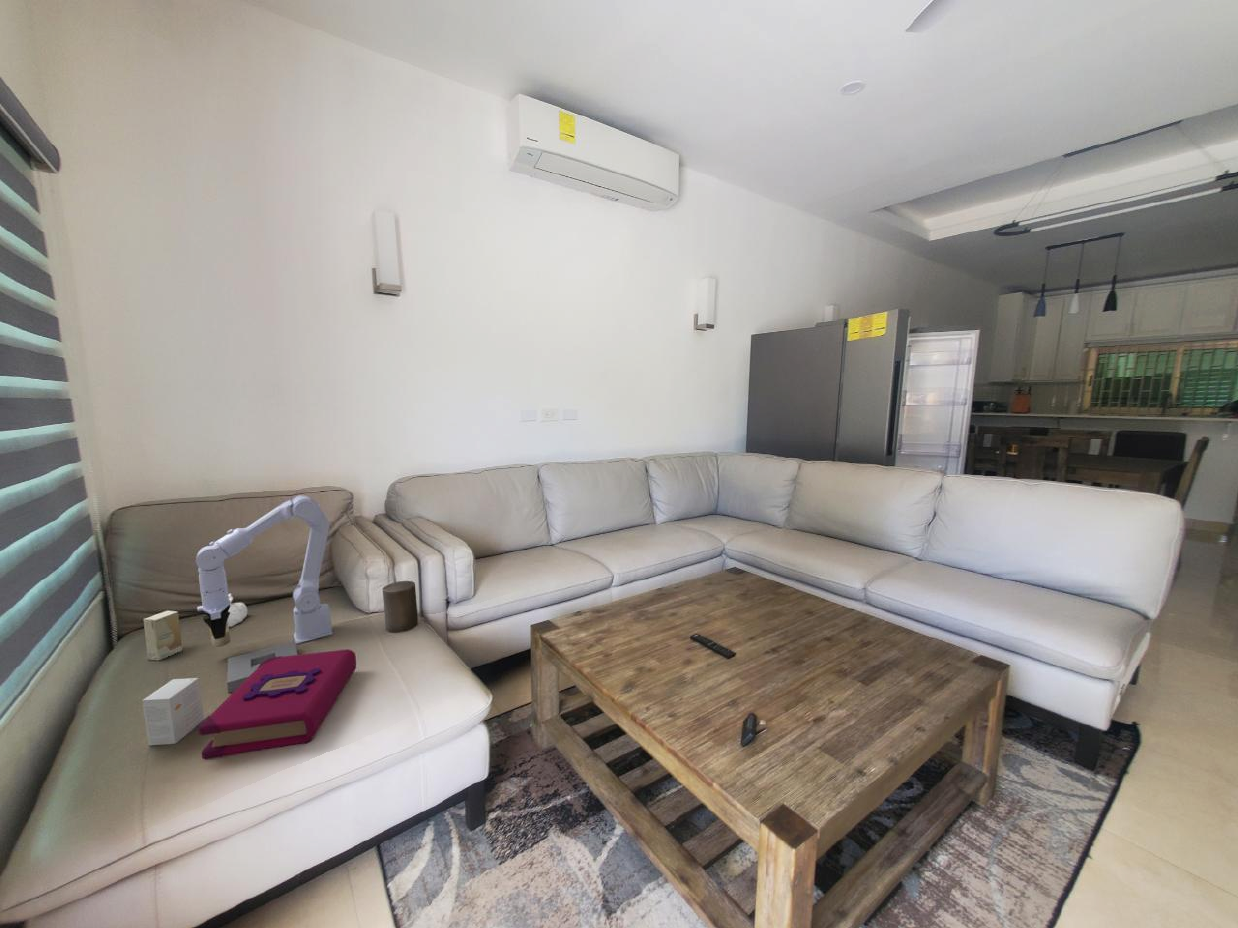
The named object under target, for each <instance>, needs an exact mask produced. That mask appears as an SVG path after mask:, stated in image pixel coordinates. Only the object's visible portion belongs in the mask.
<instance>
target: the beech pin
mask: <svg viewBox="0 0 1238 928" xmlns="http://www.w3.org/2000/svg"><path fill="white" fill-rule="evenodd" d="M209 633H210V641H211V642H210V643H211V646H212V648H221V647H223V646H226V645H229V644H230V643H231V636H230V627H229V626H228V619H227V623H226V632H225V637H223V638H219V639H215V638H214V636H213V634H212V632H211V629H210V628H209Z"/></svg>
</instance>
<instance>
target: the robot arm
mask: <svg viewBox="0 0 1238 928" xmlns="http://www.w3.org/2000/svg"><path fill="white" fill-rule="evenodd" d="M293 516H294V517H295V518H296V519H298V520H301V521H302V522H305V524H307V526H309V527H310V529H309V535H308V541H307V546H306V549H305V555H304V560H303V566H302V571H301V576H300V578H299V580H298V584H297V586H296V587H295V589H294V590H293V593H292V599H293V600H294V605H295V606H294V608H293V610H292V611H293V620H294V621H293V622H294V630H295V632H294V633H293V638H294V643H295V645H297V644H298V645H299V644H302V643H305V642H309V641H312V640H317V639H319V638H324V637H327V636H330V635H333V632H332V631H333V630H332V625H333V624H332V621H331V614H330V613H331V611H330V606H329V604H328V603H325V604H323V603H322V604H321V597H320V595H319V589H320V576H321V570H322V564H323V559H324V556H325V555H324V554H325V550H326V544H327V541H328V539H327V538H328V536H329V535H328V534H329V528H330V521H329V519H328V517H327V515H326V514H325V512H324V511H323V508H322V506H320V505H319V503H318V502H317V501H316V500H315V499H313V498H312V497H310V495H307V494H299V495H297V496H294V497H293V498H292V499H289V500H286V501H285V502H283V503H281V504H280V505H278V506H276V507H275V508H274V509H272V510H271V511H269V512H267V513H266V514H264V515H263V516H262V517H260V518H259V519H257V520H256V521H253V522H252V523H251V524H249V525H248V526H246V527H243V528H242V527H241V528H240V527H237V528H234V529H232V528H230V529H229V530H227V534H225V535H223V536H222V537H221V538H219V539H217V540H216V541H211V542H209V543H208V544H209V545H207V546H204V547H202V548H201V549H200V550H199V551H198V552H197V554H196V556H195V558H196V559H195V563H196V566H197V567H198V569H197V572H198V574H199V575H198V582H199V590H200V591H199V592H200V596H201V597H200V598H201V604H202V605H199V606H197V608H196V609H197V612H200V611H203V612H204V614H205V615H204V616H203V617H202V619H203V622H204V623H205V624H206V625H207V626H208V627H209V630H210V629H211V632H212V634H213V636H214V638H215V639H219V638H223V637H225V632H226V623H227V619H228V617H229V615H230V612H228V611H229V608H230V600H229V595H228V594H229V589H228V588H229V587H228V581H227V579H228V578H227V572H226V570H225V567H224V562H225V560H226V559H229V558H232V557H233V556H234V555H236V554H238V553H239V552H241V551H242V550H244V549H246V548H247V547H248V546H250V545H251V544H252V543H253V542H254V541H253V540H254V537H255V536H257V535H259V534H261V533H262V532H264V531H265V530H268V529H269V528H271V527H272V526H274V525H275V524H277V523H279V522H281V521H291V520H292V521H294V517H293Z"/></svg>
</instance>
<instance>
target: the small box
mask: <svg viewBox="0 0 1238 928" xmlns="http://www.w3.org/2000/svg"><path fill="white" fill-rule="evenodd" d="M141 704H142V710H143V717H144V722H145V724H144V725H145V730H146V736H147V743H148V746H162V745H163V746H164V745H175V744H177V743H178V742H179V741H181V740H182V739H183V738H184V737H185V736H186V735H188V734H189V733H190V732H192V731H193V730H194V729H195V728H196V727H197V726H199V725H200V724H201V723H202V722H203V721H204V720H205V715H204V705H203V700H202V691H201V685H200V677H192V678H188V677H187V678H173V679H172V680H171V679H170V680H169V681H168V682H166V684H164V685H163V686H161V687H160V688H158V689H157V690H155V691H154V692H153V693H150V694H149V695H148V696H146V697H145V698H143V699H142V700H141Z"/></svg>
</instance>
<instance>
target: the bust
mask: <svg viewBox="0 0 1238 928" xmlns="http://www.w3.org/2000/svg"><path fill="white" fill-rule="evenodd" d="M228 595H229V600H230V608H229V611H228V612H230V615H229V617H228V626H229V628H231V627H232V628H233V626H235V625H237V624H239V623H241V622H243V620H244V619H245V618H246V617H247V614H248V608H247V606H246V605H245V603H243V602H235V603H234V602H233V600H234V597H233V595H232V593H228ZM232 602H233V603H232Z"/></svg>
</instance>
